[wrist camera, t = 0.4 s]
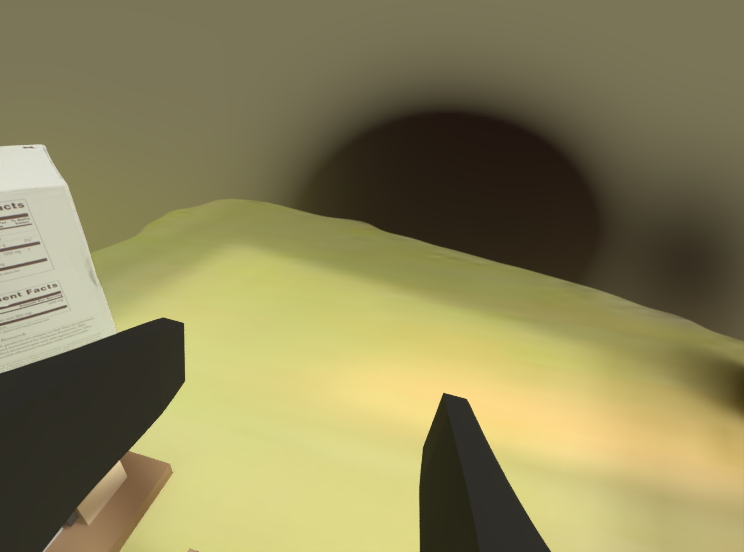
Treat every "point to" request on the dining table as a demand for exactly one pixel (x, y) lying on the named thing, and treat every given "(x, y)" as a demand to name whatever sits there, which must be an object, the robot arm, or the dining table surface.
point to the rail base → (113, 506)
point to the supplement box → (43, 264)
